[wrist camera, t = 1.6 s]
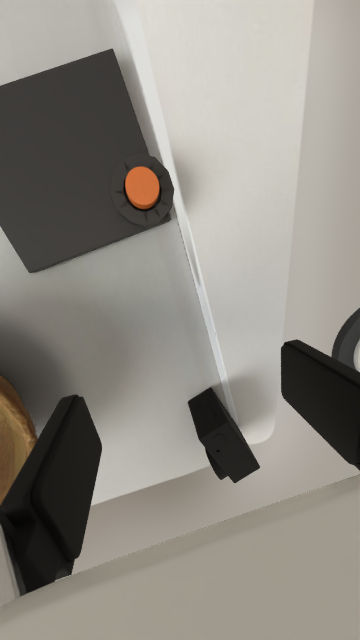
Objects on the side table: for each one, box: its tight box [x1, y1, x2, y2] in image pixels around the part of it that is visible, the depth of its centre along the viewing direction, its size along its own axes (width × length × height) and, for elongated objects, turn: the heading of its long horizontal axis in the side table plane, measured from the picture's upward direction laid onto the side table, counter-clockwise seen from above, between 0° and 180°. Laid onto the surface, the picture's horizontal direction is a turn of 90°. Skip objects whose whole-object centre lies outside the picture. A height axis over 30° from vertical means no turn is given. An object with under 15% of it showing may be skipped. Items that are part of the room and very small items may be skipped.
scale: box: [0, 49, 174, 273], centre depth 19 cm, size 17×14×3 cm
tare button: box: [125, 167, 159, 209], centre depth 19 cm, size 3×3×2 cm
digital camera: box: [188, 388, 260, 483], centre depth 30 cm, size 10×5×7 cm, turn 32°
